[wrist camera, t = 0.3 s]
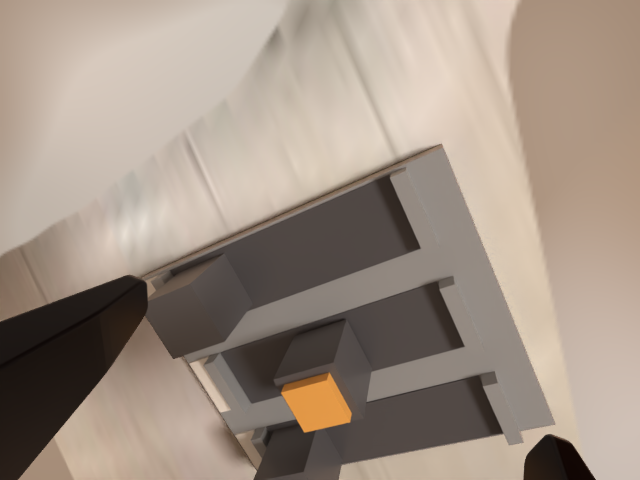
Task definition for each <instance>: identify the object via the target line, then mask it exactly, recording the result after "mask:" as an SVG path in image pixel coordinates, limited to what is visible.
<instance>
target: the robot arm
mask: <svg viewBox="0 0 640 480" xmlns="http://www.w3.org/2000/svg"><path fill="white" fill-rule="evenodd" d="M147 309H148V292H147V283H146V281H145V280H143V279H140V278H138V277H135V276H132V275H126V276H123V277H121V278H118V279H115V280H112V281H110V282H107V283H104V284H102V285H99V286H96V287H93V288H91V289H88V290H85V291H82V292H80V293H77V294H74V295H72V296H69V297H66V298H63V299H61V300H58V301H55V302H53V303H50V304H47V305H44V306H42V307H39V308H36V309H34V310H31V311H28V312H25V313H23V314H20V315H17V316H15V317H12V318H9V319H6V320H4V321H1V322H0V480H18V479H19V478H20V477H21V475H22V474H23V473H24V472H25V470H26V469H27V468H28V467H29V466H30V464H31V463H32V462H33V461H34V460H35V458H36V457H37V456H38V455H39V454H40V452H41V451H42V450H43V449H44V448H45V446H46V445H47V444H48V443H49V442H50V440H51V439H52V438H53V437H54V436H55V434H56V433H57V432H58V431H59V430H60V428H61V427H62V426H63V425H64V424H65V422H66V421H67V420H68V419H69V418H70V416H71V415H72V414H73V413H74V412H75V410H76V409H77V408H78V407H79V405H80V404H81V403H82V402H83V401H84V399H85V398H86V397H87V396H88V395H89V393H90V392H91V391H92V390H93V389H94V387H95V386H96V385H97V384H98V383H99V381H100V380H101V379H102V378H103V376H104V375H105V374H106V373H107V371H108V370H109V368H110V367H111V366H112V364H113V363H114V361H115V360H116V358H117V357H118V355H119V354H120V352H121V351H122V349H123V348H124V346H125V345H126V343H127V342H128V340H129V339H130V337H131V336H132V334H133V333H134V331H135V330H136V328H137V327H138V325H139V324H140V322H141V321H142V319H143V318H144V316H145V314H146V312H147ZM524 480H596V479H595V478H594V476H593V475H592V473H591V472H590V470H589V469H588V467H587V466H586V464H585V463H584V461H583V460H582V458H581V456H580V455H579V453H578V452H577V450H576V449H575V447H574V446H573V445H572V444H571V443H570V442H569V441H568V440H565V439H563V438H560V437H557V436H555V435H552V434H548V435H545V436H544V437H543V438H542V439H541V440H540V441H539V442H538V443H537V444H536V445H535V447H534V448H533V449H532V450H531V451H530V452H529V453H528V455H527V456H526V459H525V464H524Z"/></svg>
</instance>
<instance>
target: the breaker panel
mask: <svg viewBox="0 0 640 480" xmlns="http://www.w3.org/2000/svg"><path fill="white" fill-rule="evenodd" d="M141 279H143V280H145V281H146V283H147V292H148V309H147V312H146V314H145V316H146V318H147V319H148V321H149V322H150V324H151V325H152V327H153V328H154V330H155V332H156V333H157V335H158V336H159V338H160V339H161V341H162V342H163V344H164V345H165V347H166V349H167V350H168V352H169V353H170V355H171V356H172V358H173V359H175V358H178V357H181V356H184V358H185V359H186V361H187V362H188V364H189V365H190V367H191V369H192V370H193V372H194V373H195V375H196V376H197V378H198V379H199V381H200V383H201V384H202V386H203V387H204V389H205V390H206V392H207V394H208V395H209V397H210V398H211V400H212V401H213V403H214V405H215V406H216V408H217V409H218V411H219V412H220V414H221V415H222V417H223V419H224V420H225V422H226V423H227V425H228V426H229V428H230V430H231V431H232V433H233V434H234V436H235V437H236V439H237V441H238V442H239V444H240V445H241V447H242V448H243V450H244V451H245V453H246V455H247V456H248V458H249V459H250V461H251V462H252V464H253V466H254V467H255V469H256V470H257V473H256V475H255V478H254V480H338V479H339V474H340V469H341V465H345V464H350V463H355V462H361V461H366V460H371V459H376V458H382V457H387V456H392V455H397V454H403V453H408V452H413V451H418V450H424V449H429V448H434V447H439V446H445V445H450V444H455V443H460V442H466V441H471V440H476V439H481V438H487V437H492V436H497V435H502V434H504V435H505V437H506V440H507V442H508V444H509V445H514V444H519V443H524V442H523V438H522V435H521V431H523V430H529V429H534V428H539V427H544V426H550V425H555V422H554V419H553V417H552V414H551V411H550V409H549V406H548V404H547V401H546V399H545V397H544V394H543V392H542V389H541V387H540V384H539V382H538V379H537V377H536V374H535V372H534V369H533V367H532V365H531V362H530V360H529V357H528V355H527V352H526V350H525V347H524V345H523V342H522V340H521V337H520V335H519V333H518V330H517V328H516V325H515V323H514V320H513V318H512V315H511V313H510V310H509V308H508V305H507V303H506V301H505V298H504V296H503V293H502V291H501V288H500V286H499V283H498V281H497V278H496V276H495V273H494V271H493V268H492V266H491V264H490V261H489V259H488V256H487V254H486V251H485V249H484V246H483V244H482V241H481V239H480V236H479V234H478V232H477V229H476V227H475V224H474V222H473V219H472V217H471V214H470V212H469V209H468V207H467V204H466V202H465V200H464V197H463V195H462V192H461V190H460V187H459V185H458V182H457V180H456V177H455V175H454V172H453V170H452V168H451V165H450V163H449V160H448V158H447V155H446V153H445V150H444V148H443V145H442V144H440V145H438V146H436V147H434V148H431V149H429V150H427V151H425V152H422V153H420V154H418V155H416V156H413V157H411V158H409V159H406V160H404V161H402V162H400V163H397V164H395V165H393V166H391V167H388V168H386V169H384V170H382V171H379V172H377V173H375V174H373V175H370V176H368V177H366V178H364V179H361V180H359V181H357V182H354V183H352V184H350V185H348V186H345V187H343V188H341V189H339V190H336V191H334V192H332V193H330V194H327V195H325V196H323V197H321V198H318V199H316V200H314V201H311V202H309V203H307V204H305V205H302V206H300V207H298V208H296V209H293V210H291V211H289V212H287V213H284V214H282V215H280V216H278V217H275V218H273V219H271V220H269V221H266V222H264V223H262V224H259V225H257V226H255V227H253V228H250V229H248V230H246V231H244V232H241V233H239V234H237V235H235V236H232V237H230V238H228V239H226V240H223V241H221V242H219V243H217V244H214V245H212V246H210V247H207V248H205V249H203V250H201V251H198V252H196V253H194V254H192V255H189V256H187V257H185V258H183V259H180V260H178V261H176V262H174V263H171V264H169V265H167V266H164V267H162V268H160V269H158V270H155V271H153V272H151V273H149V274H147V275H145V276H144V277H143V278H141ZM346 319H347V321H348V323H349V325H350V327H351V329H352V331H353V332H354V334H355V336H356V338H357V340H358V342H359V344H360V346H361V348H362V350H363V352H364V354H365V356H366V358H367V360H368V362H369V363H370V365H371V367H372V372H371V378H370V384H369V390H368V396H367V402H366V408H365V414H364V419H359V420H355V421H350V422H349V423H345V424H340V425H336V426H332V427H327V428H323V429H318V430H314V431H310V432H305V433H304V432H303V430H302V428H301V427H300V425H299V423H298V421H297V420H296V418H295V416H294V415H293V413H292V411H291V410H290V408H289V406H288V404H287V403H286V401H285V399H284V398H283V396H282V394H281V393H280V391H279V389H278V387H277V386H276V384H275V382H274V381H273V379H274V377H275V375H276V373H277V371H278V368H279V366H280V364H281V362H282V360H283V358H284V356H285V354H286V352H287V350H288V348H289V346H290V344H291V342H292V340H293V338H294V336H296V335H299V334H302V333H305V332H308V331H312V330H315V329H318V328H321V327H324V326H327V325H330V324H333V323H336V322H340V321H343V320H346Z"/></svg>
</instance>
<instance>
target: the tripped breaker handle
mask: <svg viewBox="0 0 640 480" xmlns="http://www.w3.org/2000/svg"><path fill="white" fill-rule="evenodd" d="M371 372H372V367H371V365H370V363H369V362H368V360H367V358H366V356H365V354H364V352H363V350H362V348H361V346H360V344H359V342H358V340H357V338H356V336H355V334H354V332H353V331H352V329H351V327H350V325H349V323H348V321H347V319H346V320H343V321H340V322H336V323H333V324H330V325H327V326H324V327H321V328H318V329H315V330H312V331H308V332H305V333H302V334H299V335H296V336H294V338H293V340H292V342H291V344H290V346H289V348H288V350H287V352H286V354H285V356H284V358H283V360H282V362H281V364H280V366H279V368H278V371H277V373H276V375H275V377H274V379H273V381H274V382H275V384H276V386H277V387H278V389H279V391H280V393H281V394H282V396H283V398H284V399H285V401H286V403H287V404H288V406H289V408H290V410H291V411H292V413H293V415H294V416H295V418H296V420H297V421H298V423H299V425H300V427H301V428H302V430H303V432H304V433H305V432H310V431H314V430H318V429H323V428H327V427H332V426H336V425H340V424H345V423H349V422H350V421H355V420H359V419H364V414H365V408H366V402H367V396H368V390H369V384H370V378H371Z"/></svg>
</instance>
